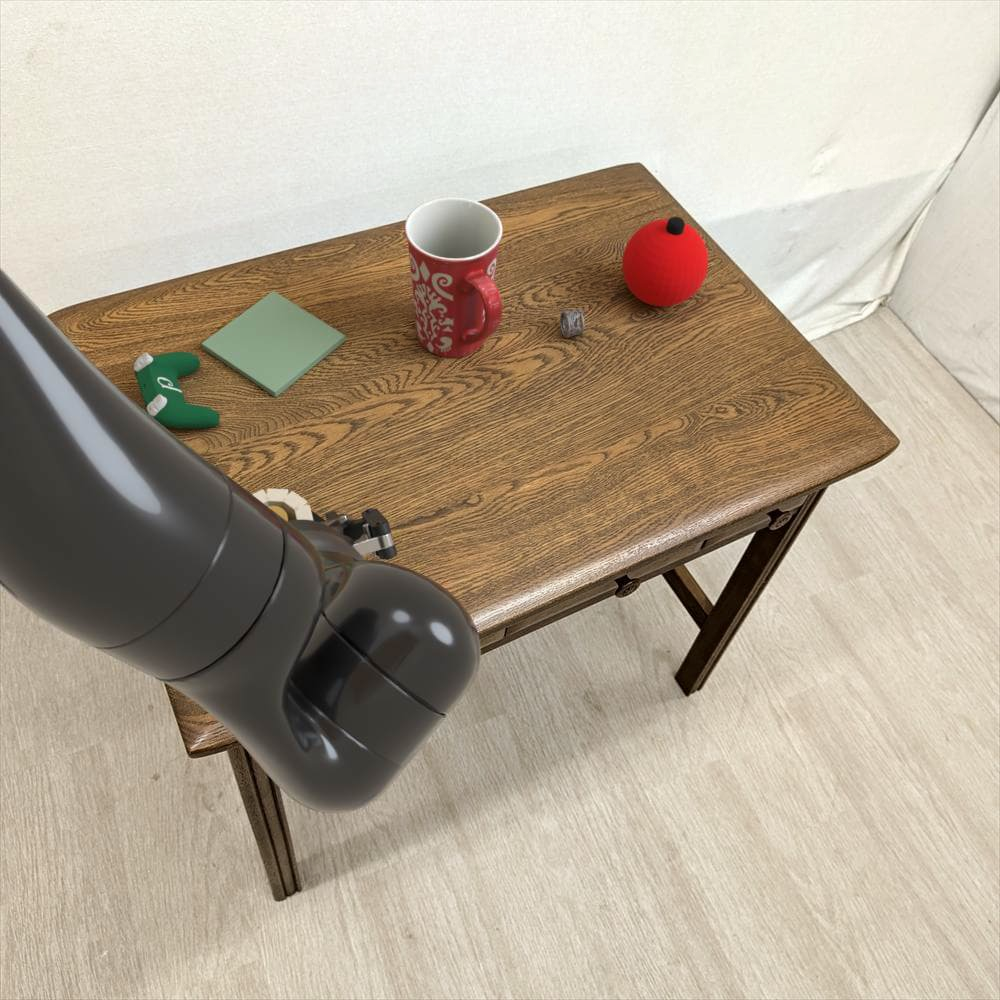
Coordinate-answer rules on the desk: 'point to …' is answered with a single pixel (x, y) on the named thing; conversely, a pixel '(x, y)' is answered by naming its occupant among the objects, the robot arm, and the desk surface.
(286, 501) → the ring
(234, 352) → the mat
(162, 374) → the gaming controller
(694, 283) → the ornament
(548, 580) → the desk surface
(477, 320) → the mug
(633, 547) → the desk surface
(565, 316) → the decorative ring
